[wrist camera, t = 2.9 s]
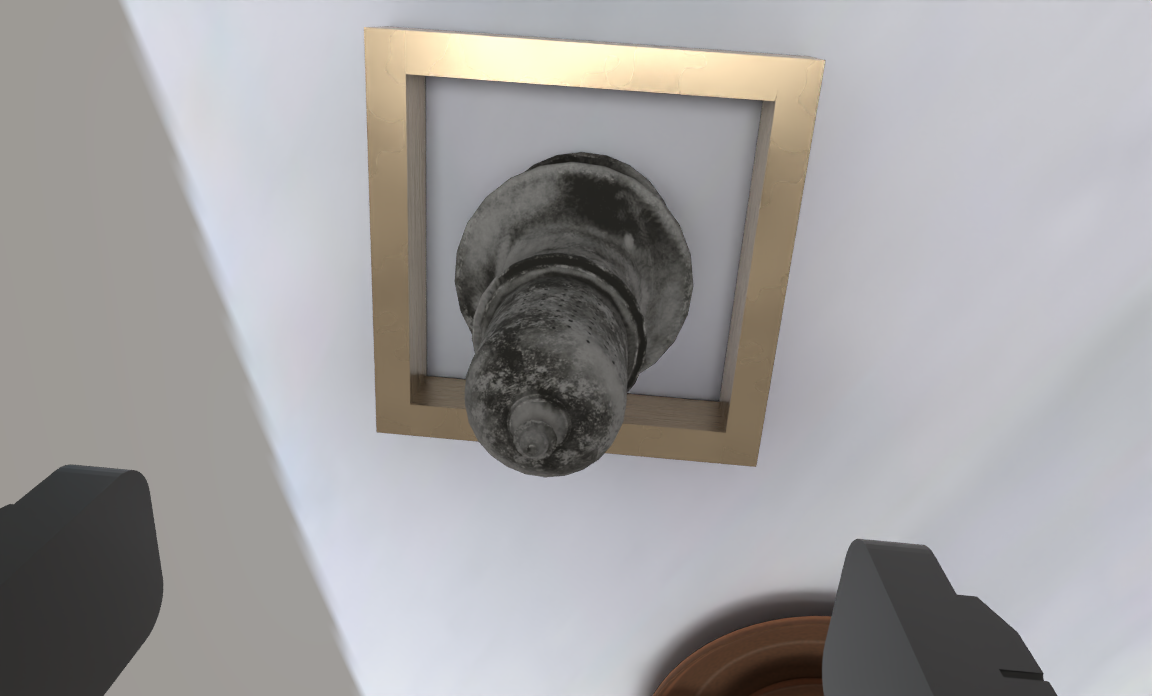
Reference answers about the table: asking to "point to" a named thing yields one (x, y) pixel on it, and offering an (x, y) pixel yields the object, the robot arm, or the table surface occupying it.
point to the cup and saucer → (756, 662)
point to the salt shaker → (566, 307)
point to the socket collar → (416, 53)
